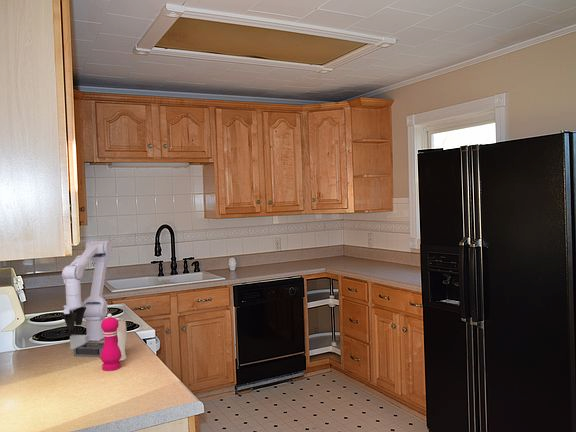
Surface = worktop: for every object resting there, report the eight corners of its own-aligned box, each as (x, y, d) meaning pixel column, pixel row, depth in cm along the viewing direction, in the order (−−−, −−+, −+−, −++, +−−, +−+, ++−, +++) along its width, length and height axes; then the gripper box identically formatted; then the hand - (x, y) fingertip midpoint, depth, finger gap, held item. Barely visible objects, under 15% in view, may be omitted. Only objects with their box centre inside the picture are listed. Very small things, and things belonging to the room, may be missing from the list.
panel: (73, 347, 211) (73, 334, 210) (89, 348, 209) (88, 335, 209) (70, 349, 208) (69, 336, 208) (85, 349, 207) (85, 336, 207)
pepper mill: (115, 371, 178) (113, 315, 177) (96, 371, 179) (94, 315, 179) (125, 365, 185) (123, 311, 184) (107, 364, 186) (105, 311, 186)
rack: (87, 349, 207) (86, 341, 207) (113, 350, 205) (113, 342, 205) (74, 356, 198) (73, 347, 198) (101, 357, 196) (101, 348, 196)
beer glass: (130, 356, 196) (129, 318, 195) (122, 362, 189) (121, 322, 188) (113, 356, 196) (111, 318, 196) (105, 362, 189) (103, 322, 189)
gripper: (71, 291, 213) (72, 323, 214) (55, 298, 199) (57, 332, 199) (87, 291, 213) (89, 322, 214) (73, 297, 199) (74, 331, 199)
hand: (74, 327), depth 206 cm, fingers open, 7 cm apart
